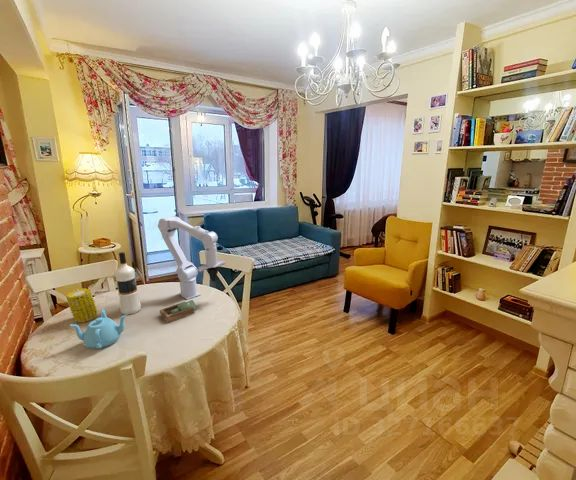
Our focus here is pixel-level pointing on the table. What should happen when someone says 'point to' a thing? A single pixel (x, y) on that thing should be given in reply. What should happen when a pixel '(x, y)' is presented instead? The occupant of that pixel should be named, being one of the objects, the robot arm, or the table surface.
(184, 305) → the green bottle
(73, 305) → the food
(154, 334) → the table surface
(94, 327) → the teapot
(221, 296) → the table surface
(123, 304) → the vodka
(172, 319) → the u rest
